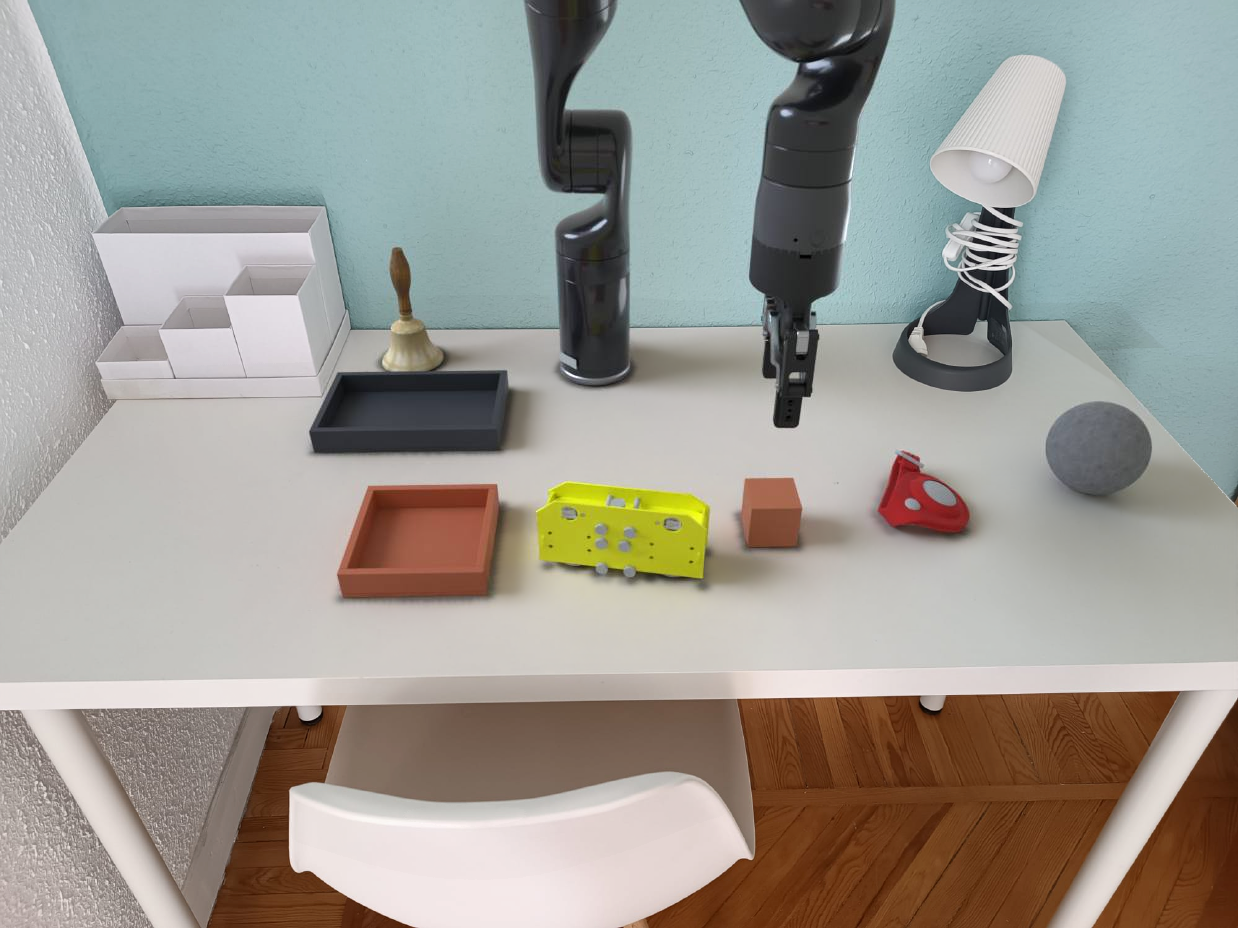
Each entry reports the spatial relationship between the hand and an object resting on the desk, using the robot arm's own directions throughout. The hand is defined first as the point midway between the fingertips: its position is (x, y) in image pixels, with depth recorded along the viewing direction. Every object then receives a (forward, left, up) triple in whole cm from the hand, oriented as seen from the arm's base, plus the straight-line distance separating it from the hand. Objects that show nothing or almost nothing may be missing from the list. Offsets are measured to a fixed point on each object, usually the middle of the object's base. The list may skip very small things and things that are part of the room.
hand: (779, 400), depth 80 cm
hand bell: (-38, -42, -16) cm, 59 cm away
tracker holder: (-5, +18, -16) cm, 25 cm away
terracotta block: (-1, +1, -16) cm, 16 cm away
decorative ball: (-8, +37, -16) cm, 41 cm away
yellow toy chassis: (+3, -14, -16) cm, 22 cm away
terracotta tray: (+1, -34, -16) cm, 38 cm away
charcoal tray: (-23, -39, -16) cm, 48 cm away
